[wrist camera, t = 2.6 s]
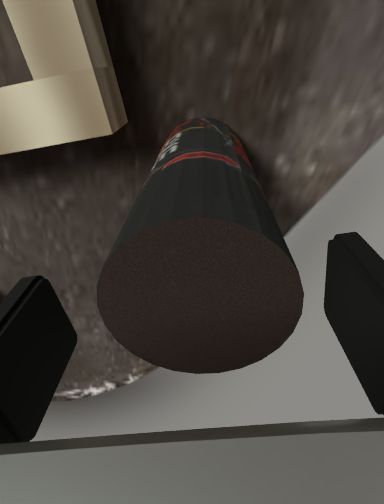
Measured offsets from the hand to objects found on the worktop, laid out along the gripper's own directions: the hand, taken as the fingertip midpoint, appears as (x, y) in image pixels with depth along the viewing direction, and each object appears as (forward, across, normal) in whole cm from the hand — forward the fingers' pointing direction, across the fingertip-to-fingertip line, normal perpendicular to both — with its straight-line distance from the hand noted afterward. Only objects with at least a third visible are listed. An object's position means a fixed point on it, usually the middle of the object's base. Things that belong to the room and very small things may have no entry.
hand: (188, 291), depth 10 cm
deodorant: (+14, -1, -1) cm, 14 cm away
